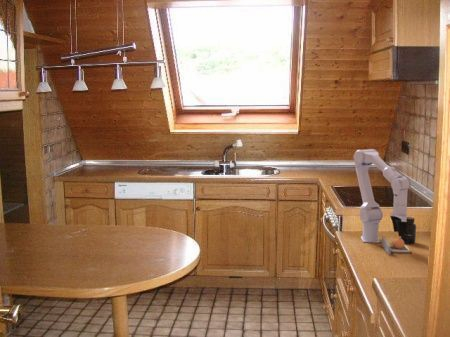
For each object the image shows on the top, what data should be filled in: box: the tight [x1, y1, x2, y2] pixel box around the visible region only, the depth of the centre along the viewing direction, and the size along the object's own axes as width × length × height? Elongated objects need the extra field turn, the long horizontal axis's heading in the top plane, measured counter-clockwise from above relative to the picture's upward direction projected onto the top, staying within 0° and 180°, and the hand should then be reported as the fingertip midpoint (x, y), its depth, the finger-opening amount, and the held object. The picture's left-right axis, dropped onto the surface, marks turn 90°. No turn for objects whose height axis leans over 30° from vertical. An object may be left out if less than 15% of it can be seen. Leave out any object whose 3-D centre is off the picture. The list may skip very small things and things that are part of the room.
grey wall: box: [381, 235, 392, 256], centre depth 235 cm, size 16×1×4 cm, turn 173°
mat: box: [390, 244, 412, 255], centre depth 235 cm, size 11×9×1 cm
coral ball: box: [392, 237, 405, 249], centre depth 235 cm, size 5×5×5 cm
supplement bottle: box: [399, 216, 417, 245], centre depth 246 cm, size 7×7×12 cm
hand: (398, 233), depth 234 cm, fingers open, 7 cm apart
